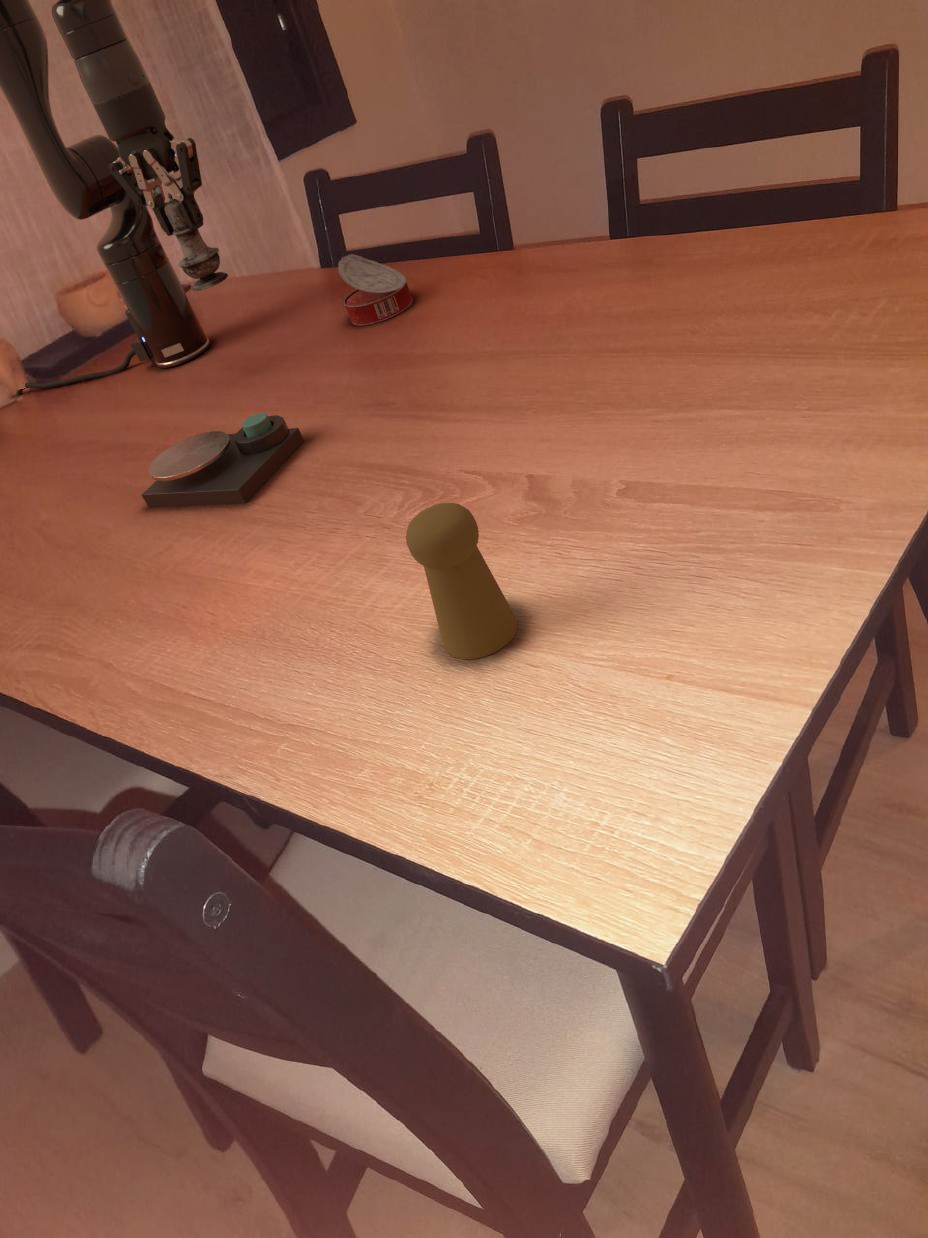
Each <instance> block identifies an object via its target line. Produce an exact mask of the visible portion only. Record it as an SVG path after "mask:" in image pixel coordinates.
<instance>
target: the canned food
mask: <svg viewBox="0 0 928 1238" xmlns="http://www.w3.org/2000/svg"><path fill="white" fill-rule="evenodd" d="M337 264H338V265H337V267H338V274H339V277H341V279H342V280H343V281H344V283H346V284H347V285H349V286H350V287H351V288H353V289H356V290H354V291H352V292H351V293H350V294H348V295H347V296H346V297H345V299H344V301H343V305H344V306H345V309H346V312H347V315H348V317H349V320H350V322H351V324H353V325H355V326H358V327H359V326H369V325H374V324H378V323H381V322H384V321H386V320H389V319H391V318H393V317H395V316H397V315H399V314H401V313H403V312H404V311H405V310H406V309H408V308H409V307H410V306H411V305H412V303H413V300H414V299H413V296H412V294H411V291H410V288H409V286H408V282H407V279H406V276H405V275H404V274H403V273H401V272H400V271H399V270H397V269H395V268H392V267H390V266H388V265H387V264H383V263H379V262H377V261H375V260H371V259H368V258H366V257H364V256H361V255H357V254H353V253H350V254H348V255H343V256H342V257H341V259H340V260H339V261H338V263H337Z"/></svg>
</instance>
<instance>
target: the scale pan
mask: <svg viewBox="0 0 928 1238" xmlns="http://www.w3.org/2000/svg"><path fill="white" fill-rule="evenodd" d="M227 434H228V433H226V432H224V431H221V430H214V431H213V430H212V431H208V432H202V433H199V434H195V435H193V436H190V437H187V438H185V439H183V440H181V441H178V442H177V443H174V444H173V445H171V446H170V447H168V448H167V449H165V450H164V451H162V452H161V453H160V454H159V455H158V456H156V457H155V458H154V459H153V461H152V462H151V464H150V465H149V467H148V474H149V476H150V477H151V479H153V480H154V481H170V480H175V479H179V478H182V477H185V476H188V475H190V474H193V473H195V472H197V471H199V470H201V469H203V468H205V467H207V466H208V465H210V464H211V463H213V462H214V461H216V460H217V459H218V458H219V457H221V456H222V455H223V454H224V453H225V452H226V450H227V449H228V447H229V446H230V438H229V436H228V435H227Z"/></svg>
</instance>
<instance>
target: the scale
mask: <svg viewBox="0 0 928 1238" xmlns="http://www.w3.org/2000/svg"><path fill="white" fill-rule="evenodd" d="M268 418H269V420H270V422H271V424H272V427H271V428H270V429H269V430H268V431H266V432H264V433H263V434H261V435H258V436H255V437H247V436H246V434H245V432H244V430H243V428H242V427H241V428H239V430H238V431H237V432H235V433H226V434H227V435H228V436H229V438H230V446H229V447H228V449H227V450H226V452H225V453H224V454H223V455H222V456H221V457H219V458H218V459H217V460H216V461H214V462H213V463H211V464H210V465H208V466H207V467H205V468H203V469H201V470H199V471H197V472H195V473H193V474H190V475H188V476H185V477H182V478H179V479H175V480H170V481H157V480H155V481H154V482H153V483H152V484H151V485H150V486H149V487H147V488H146V489H145V490H144V491H143V492H142V494H140V495H141V497H142V499H143V500H144V502H145V504H146V505H147V507H148V508H151V509H152V508H170V507H171V508H173V507H193V506H194V507H195V506H217V505H241V504H247V503H248V502H249V501H250V499H252V497H254V495H255V494H256V493H257V492H258V491H259V490H260V489H261V488H262V487H263V486H264V484H265V483H266V482H268V480H269V479H271V477H272V476H273V475H274V474H275V473H276V472H277V471H278V470H279V469H280V468H281V467H282V466H283V464H284V463H285V462H286V461H287V460H289V458H290V457H291V456H292V455H293V454H294V453H295V452H296V451H297V450H298V449H299V448H300V447H301V445H302V444H303V443H304V442H305V439H304V436H303V435H302V432H301V431H300V429H299V427H293V428H292V427H290V428H289V426H288V425H287V423H286V420H285V419H284V417H283V416H280V415H278V414H274V415H268Z"/></svg>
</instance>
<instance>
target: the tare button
mask: <svg viewBox="0 0 928 1238" xmlns="http://www.w3.org/2000/svg"><path fill="white" fill-rule="evenodd" d="M268 416H269V415H268V413H266V412H258V413H255V414H252V415H250V416H249V417H247V418H246V419H244V420H243V421H242V422H241V428H243V430H244V432H245V434H246V436H247V437H255V436H258V435H261V434H263V433H264V432H266V431H268V430H269V429H270V428H271V427H272V424H271V422H270V420H269V418H268Z"/></svg>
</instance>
